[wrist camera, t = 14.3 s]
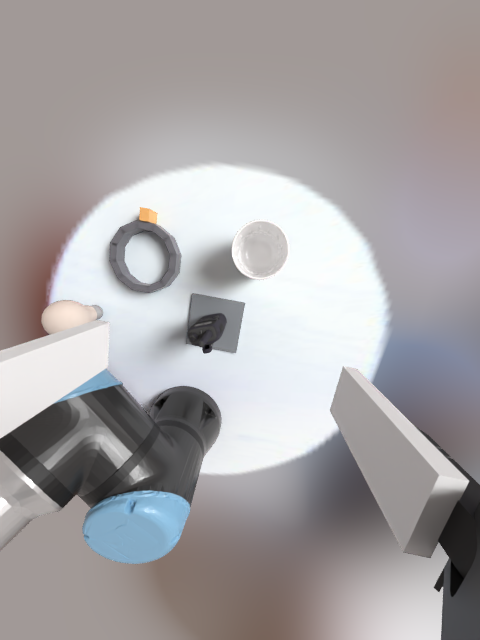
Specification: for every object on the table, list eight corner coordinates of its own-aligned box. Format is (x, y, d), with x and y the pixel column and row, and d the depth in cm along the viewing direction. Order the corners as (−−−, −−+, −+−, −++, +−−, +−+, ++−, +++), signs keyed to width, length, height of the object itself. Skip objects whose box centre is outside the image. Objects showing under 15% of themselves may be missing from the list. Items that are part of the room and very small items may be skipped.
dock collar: (177, 295, 43) (171, 297, 40) (116, 284, 44) (106, 285, 41) (185, 218, 40) (179, 214, 37) (120, 206, 40) (109, 202, 38)
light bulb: (113, 295, 44) (67, 304, 34) (116, 328, 46) (73, 346, 35) (81, 293, 45) (25, 301, 34) (84, 326, 46) (33, 343, 35)
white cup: (275, 281, 41) (281, 285, 32) (233, 272, 42) (226, 273, 32) (286, 236, 40) (296, 226, 30) (242, 227, 40) (237, 214, 30)
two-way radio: (226, 310, 43) (210, 332, 28) (231, 332, 44) (218, 364, 29) (198, 315, 43) (168, 339, 29) (203, 337, 44) (177, 371, 30)
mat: (236, 351, 45) (235, 352, 44) (187, 342, 45) (186, 343, 45) (245, 302, 43) (244, 303, 42) (193, 293, 43) (192, 293, 42)
